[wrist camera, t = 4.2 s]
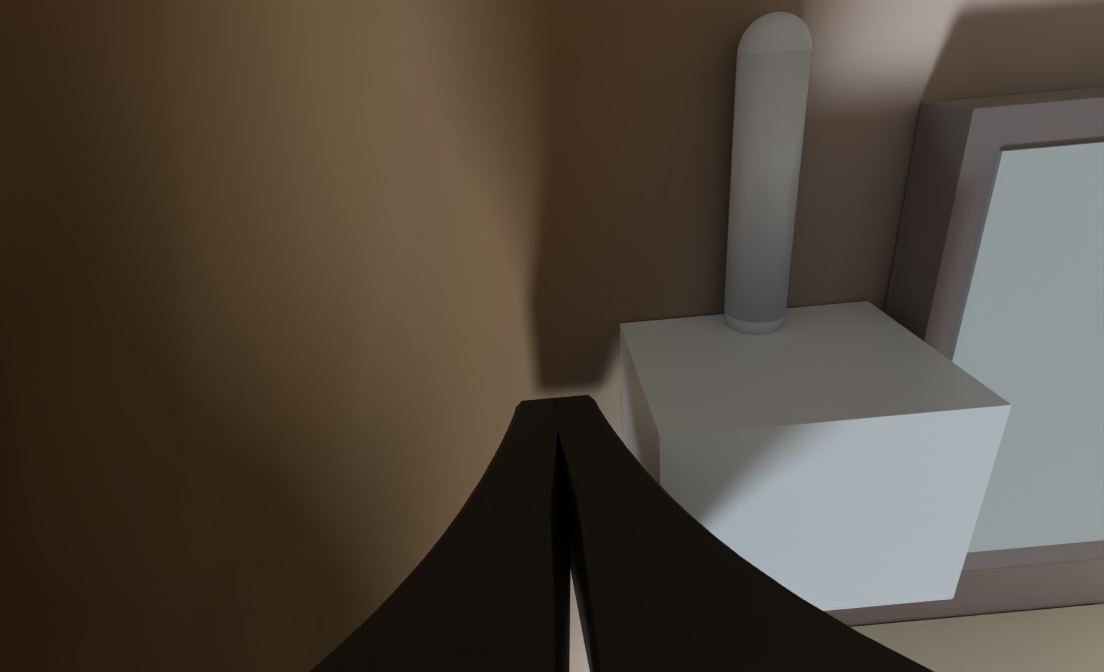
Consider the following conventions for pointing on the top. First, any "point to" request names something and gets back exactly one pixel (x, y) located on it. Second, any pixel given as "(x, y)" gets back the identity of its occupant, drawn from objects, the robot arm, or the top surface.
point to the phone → (1017, 303)
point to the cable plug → (807, 393)
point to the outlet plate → (1001, 641)
